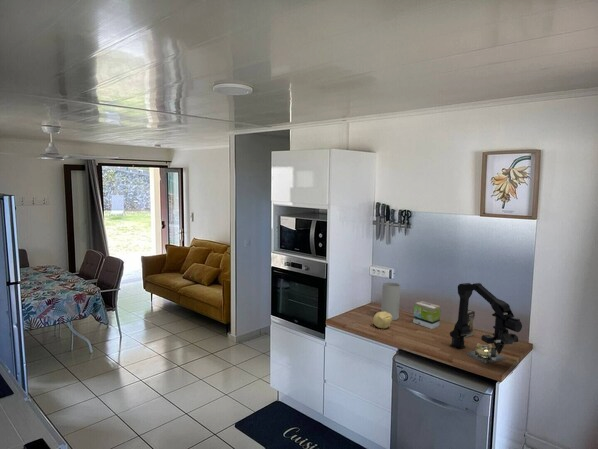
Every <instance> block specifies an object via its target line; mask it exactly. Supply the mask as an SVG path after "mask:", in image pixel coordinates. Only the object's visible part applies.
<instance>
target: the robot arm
mask: <svg viewBox="0 0 598 449" xmlns="http://www.w3.org/2000/svg"><path fill="white" fill-rule="evenodd" d="M473 291H475V292H476V293H477V294H478V295H479V296H480V297H482V298H483V299H484V300H485V301H487V303H488V304H489V305H490V307H491V309H492V310H493V311H494V312H493V313H492V314H491V316H492V317H494V318H495V319H494V320H495V321H494V325H493V326H492V327H493V329H494V332H493V333H492V336H491V335H490V334H482V335H481V338H480V339H481V341H483V342H484V343H486V344H487V345H488V344H491V345H492V344H493V345H494V347H495V348H497V354H499V355H501V352H502V351H503V349H504V347H505V345H513V343H518V342H519V336H517V335H516V334H515V333H509V330H511V331H513V332H516V333H519V332H520V331H521V330H523V325H522V324H523V323H522V321H521V319H520V318H515V315H514V313H513V311H512V309H511V306H510V304H509V303H507V302H506V301H504V300H503V299H500V298H498V297H496V296H495V295H494V294H493V293H491V291H489V290H488V289H487V288H486V287H485V286H484V285H483V284H482V283H481V282H475V283H470V282H466V283H465V282H463V283H459V284H458V286H457V294H458V296H459V303H458V304H459V306H458V307H459V308H458V316H457V321H456V323H455V324H454V327H453V330H451V331H450V332H449V336H450V338H451V343H450V344H449V346H451V347H453V348H455V349H457V350H459V349H464V348H466V346H465V338H464V337H466V336H467V334H469V332H470V325H468V323H467V313H468V310H469V300H470V298H471V296H472V295H473ZM466 338H467V337H466Z"/></svg>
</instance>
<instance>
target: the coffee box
mask: <svg viewBox="0 0 598 449" xmlns="http://www.w3.org/2000/svg"><path fill="white" fill-rule="evenodd" d="M475 314H476V311H474V310H471V309H468V313H467V323H468V325H470V332H469V334H467V336H466V337H463V338H464V339H465V338H469V337H472V336H474V330H475V329H474V328H475V316H476V315H475Z"/></svg>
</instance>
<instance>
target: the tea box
mask: <svg viewBox="0 0 598 449" xmlns="http://www.w3.org/2000/svg"><path fill="white" fill-rule="evenodd" d="M440 321H441V305H437V304H435V303H430V302H427V301H424V300H420V301H417V302H415V303H414V306H413V321H412V322H413V324H417V325H418V326H422V327H425V328H428V329H430V330H434V329H435V328H438V327H439V326H440Z"/></svg>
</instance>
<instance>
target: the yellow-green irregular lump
mask: <svg viewBox="0 0 598 449" xmlns="http://www.w3.org/2000/svg"><path fill="white" fill-rule="evenodd" d="M474 351H475V353H476V354H477V355H478V356H480V357H484V358H491V360H496V355H497V354H498V352H497V348H496V347H495V346H493V345H492V344H488V343H487V344H481V343H479V342H478V343H476V346H475V349H474Z"/></svg>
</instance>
